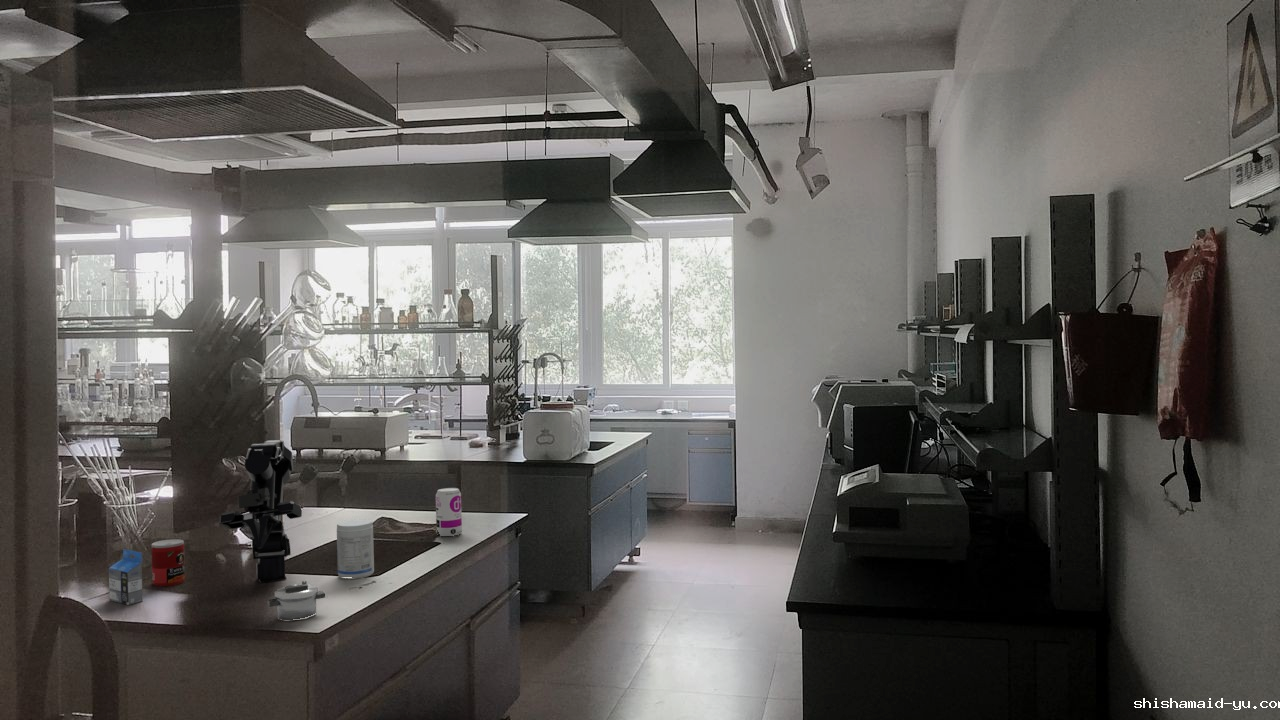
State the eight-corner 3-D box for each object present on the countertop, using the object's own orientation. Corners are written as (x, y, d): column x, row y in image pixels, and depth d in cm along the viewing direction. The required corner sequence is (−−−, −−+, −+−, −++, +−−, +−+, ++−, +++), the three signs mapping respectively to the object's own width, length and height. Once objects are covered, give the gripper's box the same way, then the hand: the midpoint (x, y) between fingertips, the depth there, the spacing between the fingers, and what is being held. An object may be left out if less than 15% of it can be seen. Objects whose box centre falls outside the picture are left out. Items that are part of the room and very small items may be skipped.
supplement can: (467, 533, 283) (466, 488, 283) (449, 538, 276) (448, 492, 276) (449, 531, 287) (448, 486, 287) (431, 535, 280) (430, 490, 280)
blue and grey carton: (108, 600, 214) (107, 552, 213) (124, 596, 217) (123, 548, 217) (127, 605, 209) (126, 555, 209) (144, 601, 212) (142, 552, 212)
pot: (320, 605, 206) (319, 584, 206) (328, 615, 197) (327, 594, 197) (265, 614, 199) (264, 593, 199) (271, 625, 191) (271, 603, 191)
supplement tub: (342, 571, 237) (341, 519, 237) (377, 570, 238) (376, 517, 238) (333, 581, 227) (332, 526, 227) (370, 579, 228) (368, 524, 228)
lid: (271, 591, 200) (271, 583, 200) (313, 584, 205) (313, 577, 205) (278, 603, 191) (277, 595, 191) (321, 596, 196) (321, 588, 196)
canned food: (171, 587, 225) (169, 546, 224) (145, 586, 226) (143, 545, 226) (192, 579, 232) (190, 539, 232) (166, 578, 234) (165, 538, 234)
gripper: (210, 485, 211) (205, 546, 204) (284, 472, 212) (282, 532, 204) (232, 499, 221) (228, 557, 214) (303, 486, 221) (301, 544, 214)
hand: (259, 548), depth 211 cm, fingers closed
